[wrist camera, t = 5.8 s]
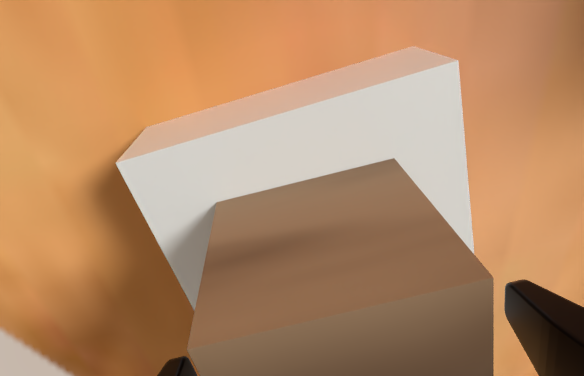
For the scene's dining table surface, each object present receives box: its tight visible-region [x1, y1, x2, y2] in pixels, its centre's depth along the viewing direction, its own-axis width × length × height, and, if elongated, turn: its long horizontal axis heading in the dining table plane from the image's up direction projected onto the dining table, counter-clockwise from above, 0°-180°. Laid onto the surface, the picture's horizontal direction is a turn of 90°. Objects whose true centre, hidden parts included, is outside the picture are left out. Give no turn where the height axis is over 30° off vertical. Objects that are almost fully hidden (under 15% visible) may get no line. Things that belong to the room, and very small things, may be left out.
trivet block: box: [116, 46, 474, 311], centre depth 13 cm, size 9×9×4 cm
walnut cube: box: [187, 158, 493, 376], centre depth 10 cm, size 5×5×5 cm
